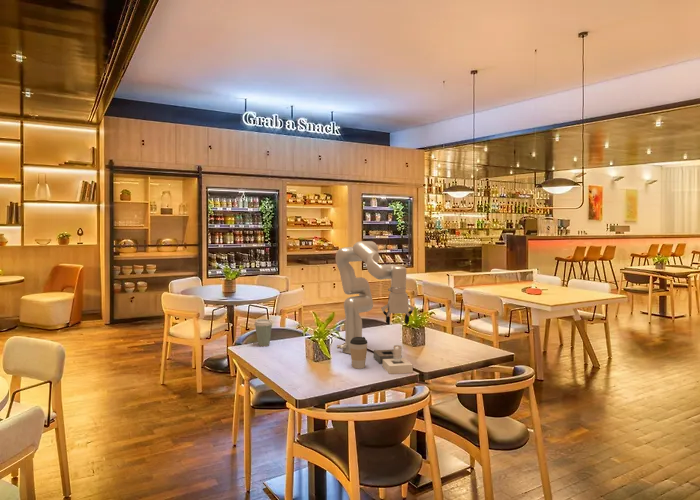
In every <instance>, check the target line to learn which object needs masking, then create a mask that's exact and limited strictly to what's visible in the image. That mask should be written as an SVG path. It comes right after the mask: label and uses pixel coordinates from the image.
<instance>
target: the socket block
mask: <svg viewBox="0 0 700 500" xmlns="http://www.w3.org/2000/svg"><path fill="white" fill-rule="evenodd" d="M413 365H414V364H412V362H410V361H409V360H408V359H407V358H405V357H402V358H401V363H400V364H393V359H383V364H381V366H382V368H383V369H384V370H385V371H386V372H387V373H388V374H389V375H397V374H398V375H400V374H413V372H414V371H413V370H414V369H413V367H414V366H413Z"/></svg>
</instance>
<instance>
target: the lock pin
mask: <svg viewBox="0 0 700 500" xmlns="http://www.w3.org/2000/svg"><path fill="white" fill-rule="evenodd" d="M402 347H403V346H402V345H398V344H396V345H393V349H394V352H393V364H400V363H401V355H402V350H403V349H402Z"/></svg>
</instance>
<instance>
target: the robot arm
mask: <svg viewBox="0 0 700 500" xmlns="http://www.w3.org/2000/svg"><path fill="white" fill-rule="evenodd" d="M378 251H379V246H378V245H377V243H376V242H374V241H372V240H366V241H365V240H361V241H356V242H355V243H354V244H353V246H345V247H341V248H339V249H338V250H337V252H336V254H335V264H336V266H337V269H338V271H339V275H340V281H341V286H342V289H343V292H344V294H345V295H349V296H350V295H352V296H350V297H347V298H346V299H345V300H344V301H343V309H344V315H345V316H344V317H345V326H344V327H345V328H344V329H345V335H344V337H345V339H344V342H343V344H337V345H336V348H337V349H340V350H342V352H343V353H344V354H348V355H351V350H350V347H351V344H350V341H351V340H352V338H354V337H363V320H362V317H361V315H360V313H367V312H370V311H371V310H372V309H373V307H374V301H373V295H372V292H371V287H370V283H369V281H368V280H367V279H366V278H365V277H360V276H359V277H357V276H356V272H355V269H354V267H353V266H352V265H351V264H350V263H351V262H352V263H355V262H364V263H365V265H366V269H367V272H368V273H369V274H370V275H371V276H372V277H373V278H375V279H377V280H380V281H381V280H382V281H383V280H390V287H389V288H388V289H387V290H388V292H389V294H388V301H387V304H386V305H384V306H381V309H380V310H381V312H382V313H383V314H384V315H385V323H386V324H387V325H388V326H389V325H390V324H391V317H390V316H391V315H392V314H405V315H404V323H405V324H406V325H408V324H409V321H410V316H411V314H412V313H413V312H414V310H415V307H414V306H412V305H410V304H409V295H408V293H407V268H406V267H405V266H402V265H397V264H393V263H392V264H391V263H390V264H388V263H387V264H378V262H379V260H380V254H379V252H378ZM386 309H387V312H386Z"/></svg>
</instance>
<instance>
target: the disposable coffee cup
mask: <svg viewBox="0 0 700 500" xmlns="http://www.w3.org/2000/svg"><path fill="white" fill-rule="evenodd" d="M254 326H255V333H256V339H257V345H258V346H259V347H268V346H270V343H271V334H272V327H273V321H272V320H271V319H266V318H260V319H256V320H255V322H254Z"/></svg>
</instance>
